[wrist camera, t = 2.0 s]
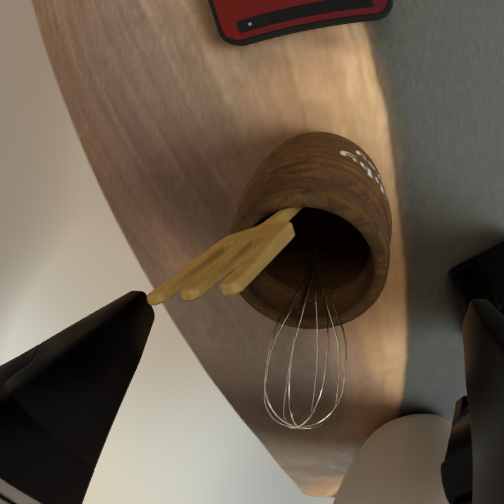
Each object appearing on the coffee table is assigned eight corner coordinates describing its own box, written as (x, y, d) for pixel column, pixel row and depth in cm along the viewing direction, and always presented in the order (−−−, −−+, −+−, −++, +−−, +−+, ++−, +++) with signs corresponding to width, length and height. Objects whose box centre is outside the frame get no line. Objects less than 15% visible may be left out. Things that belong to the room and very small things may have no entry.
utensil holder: (284, 250, 18) (209, 462, 8) (242, 142, 15) (64, 308, 5) (390, 229, 15) (418, 467, 5) (361, 108, 12) (433, 252, 3)
